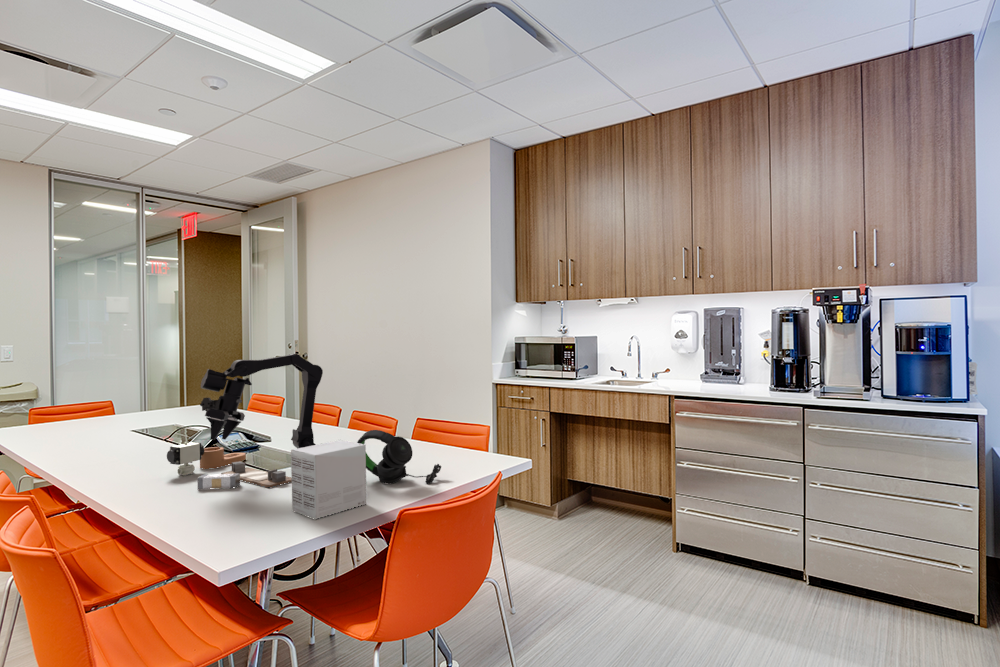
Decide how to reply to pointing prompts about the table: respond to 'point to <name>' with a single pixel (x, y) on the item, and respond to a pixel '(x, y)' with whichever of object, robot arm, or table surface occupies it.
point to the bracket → (219, 458)
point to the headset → (392, 458)
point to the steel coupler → (218, 481)
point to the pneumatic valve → (185, 456)
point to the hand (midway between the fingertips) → (218, 439)
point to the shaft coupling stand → (259, 475)
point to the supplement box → (328, 478)
